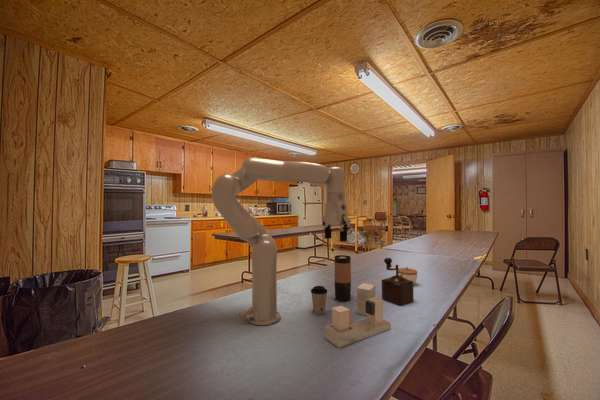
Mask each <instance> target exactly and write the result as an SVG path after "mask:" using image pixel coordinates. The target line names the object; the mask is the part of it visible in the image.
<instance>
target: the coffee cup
mask: <svg viewBox="0 0 600 400" xmlns="http://www.w3.org/2000/svg"><path fill="white" fill-rule="evenodd" d="M310 292H311V299H312V308H313V313H314V314H316V315H323V314H325V313H326V312H325V311H326V303H327V297H328V296H327V295H328V290H327V289H326V288H325V286H323V285H315V286H313V288H311V290H310Z"/></svg>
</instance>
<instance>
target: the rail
mask: <svg viewBox="0 0 600 400" xmlns="http://www.w3.org/2000/svg"><path fill="white" fill-rule="evenodd" d="M366 313H367V315H366V318H363V319H359V320H357V321H354V322H350V323H349V330H347V331H344V332H341V333H339V332H338V331H336V330H335V329H333V328H332V323H329V324H325V325H324V332H323V333H324V335H323V336H324V339H326V340H327V341H328V342H329V343H331V344H333V345H334V346H336V347H337V348H338V349H340V348H343V347H346V346H348V345H350V344H351V345H352V344H353V343H356V342H359V341H362V340H364V339H367V338H370V337H373V336H375V335H378V334H382V333H383V332H386V331H389V330H392V329H391V328H392V327H391V326H392V324H391V322H389V321H386V320H385V319H384V300H383V299H382V298H378V297H376V296H375V297H373V298H369V299H367V301H366Z"/></svg>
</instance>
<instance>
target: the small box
mask: <svg viewBox="0 0 600 400" xmlns="http://www.w3.org/2000/svg"><path fill="white" fill-rule="evenodd" d="M373 297H375V298H376V285H375V284H371V283H366V282H365V283H364V282H362V283H361V284H360V285H359V286H358V287H357V288H356V310H357V311H356V313H357V314H359V315H364V316H367V313H366V301H367V299H369V298H373Z"/></svg>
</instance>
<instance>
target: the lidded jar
mask: <svg viewBox="0 0 600 400" xmlns="http://www.w3.org/2000/svg"><path fill="white" fill-rule="evenodd" d="M398 268H399V267H398ZM398 275H399V276H401V275H403V276H402V277H403V278H406V279H408V280H410V281H413V285H415V283H416V282H417V279H418V271H417V269H415V268H409V267H408V266H407V267H400V268H399V269H398Z"/></svg>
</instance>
